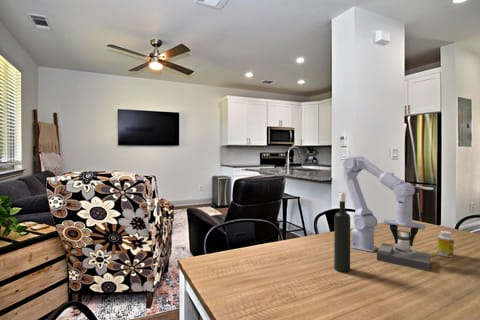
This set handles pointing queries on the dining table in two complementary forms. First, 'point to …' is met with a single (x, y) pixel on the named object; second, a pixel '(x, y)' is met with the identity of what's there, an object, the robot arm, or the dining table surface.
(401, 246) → the lens
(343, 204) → the wine bottle
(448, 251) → the supplement bottle
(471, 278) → the dining table surface
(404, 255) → the mount ring
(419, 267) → the camera body
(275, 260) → the dining table surface
